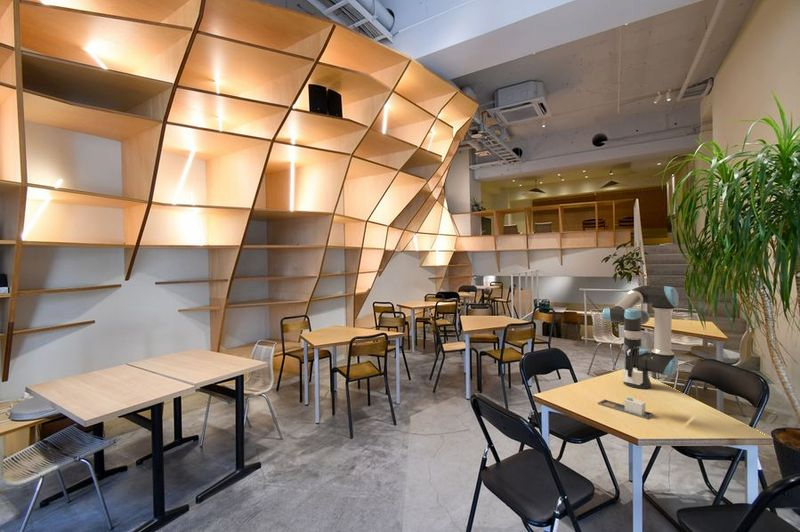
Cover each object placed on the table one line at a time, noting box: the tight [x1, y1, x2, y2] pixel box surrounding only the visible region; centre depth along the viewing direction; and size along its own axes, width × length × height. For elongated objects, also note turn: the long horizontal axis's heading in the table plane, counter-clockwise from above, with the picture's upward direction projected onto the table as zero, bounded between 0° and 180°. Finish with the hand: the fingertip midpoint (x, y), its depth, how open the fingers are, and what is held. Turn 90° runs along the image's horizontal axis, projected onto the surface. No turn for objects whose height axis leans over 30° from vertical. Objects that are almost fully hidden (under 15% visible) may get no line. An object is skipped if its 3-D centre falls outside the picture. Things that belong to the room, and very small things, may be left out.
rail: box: [597, 398, 654, 420], centre depth 198 cm, size 8×25×2 cm, turn 37°
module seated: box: [624, 396, 646, 416], centre depth 194 cm, size 5×8×7 cm, turn 37°
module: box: [622, 367, 643, 385], centre depth 197 cm, size 5×8×7 cm, turn 40°
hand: (632, 381), depth 197 cm, fingers closed on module, 5 cm apart
